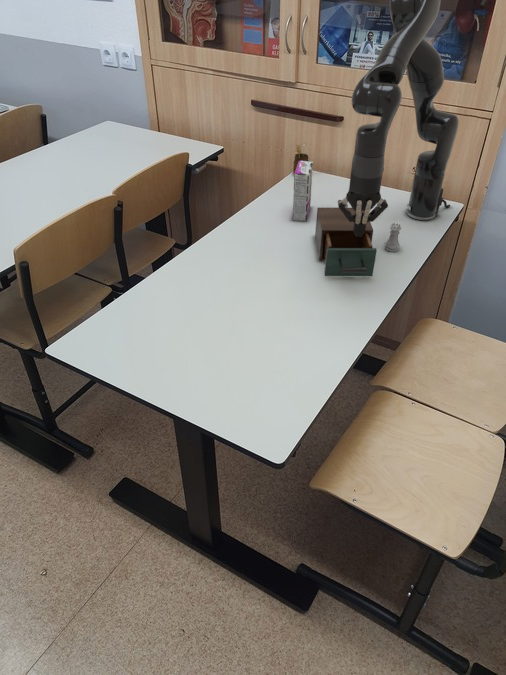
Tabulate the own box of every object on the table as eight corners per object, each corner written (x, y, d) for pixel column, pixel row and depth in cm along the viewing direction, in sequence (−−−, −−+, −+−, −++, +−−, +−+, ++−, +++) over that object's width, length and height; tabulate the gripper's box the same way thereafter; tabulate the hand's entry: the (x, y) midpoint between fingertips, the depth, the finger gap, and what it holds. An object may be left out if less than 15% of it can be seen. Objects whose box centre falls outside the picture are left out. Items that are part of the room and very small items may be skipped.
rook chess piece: (382, 245, 165) (386, 221, 160) (396, 244, 165) (401, 221, 160) (386, 252, 161) (390, 228, 156) (401, 252, 162) (405, 228, 157)
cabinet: (368, 261, 158) (373, 230, 151) (319, 261, 158) (321, 230, 151) (361, 237, 169) (365, 207, 163) (314, 237, 169) (317, 207, 163)
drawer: (376, 287, 145) (380, 261, 140) (326, 287, 145) (329, 261, 140) (364, 251, 160) (368, 226, 155) (320, 251, 160) (322, 226, 155)
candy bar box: (296, 206, 186) (298, 159, 176) (310, 207, 185) (313, 161, 175) (291, 220, 178) (293, 173, 167) (306, 222, 177) (309, 174, 166)
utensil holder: (310, 172, 209) (313, 141, 202) (303, 177, 205) (305, 146, 198) (297, 169, 212) (299, 138, 204) (289, 174, 208) (291, 143, 200)
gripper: (391, 164, 131) (381, 228, 143) (337, 165, 132) (331, 228, 143) (397, 177, 126) (386, 242, 137) (341, 177, 126) (334, 242, 137)
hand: (358, 235), depth 140 cm, fingers closed
